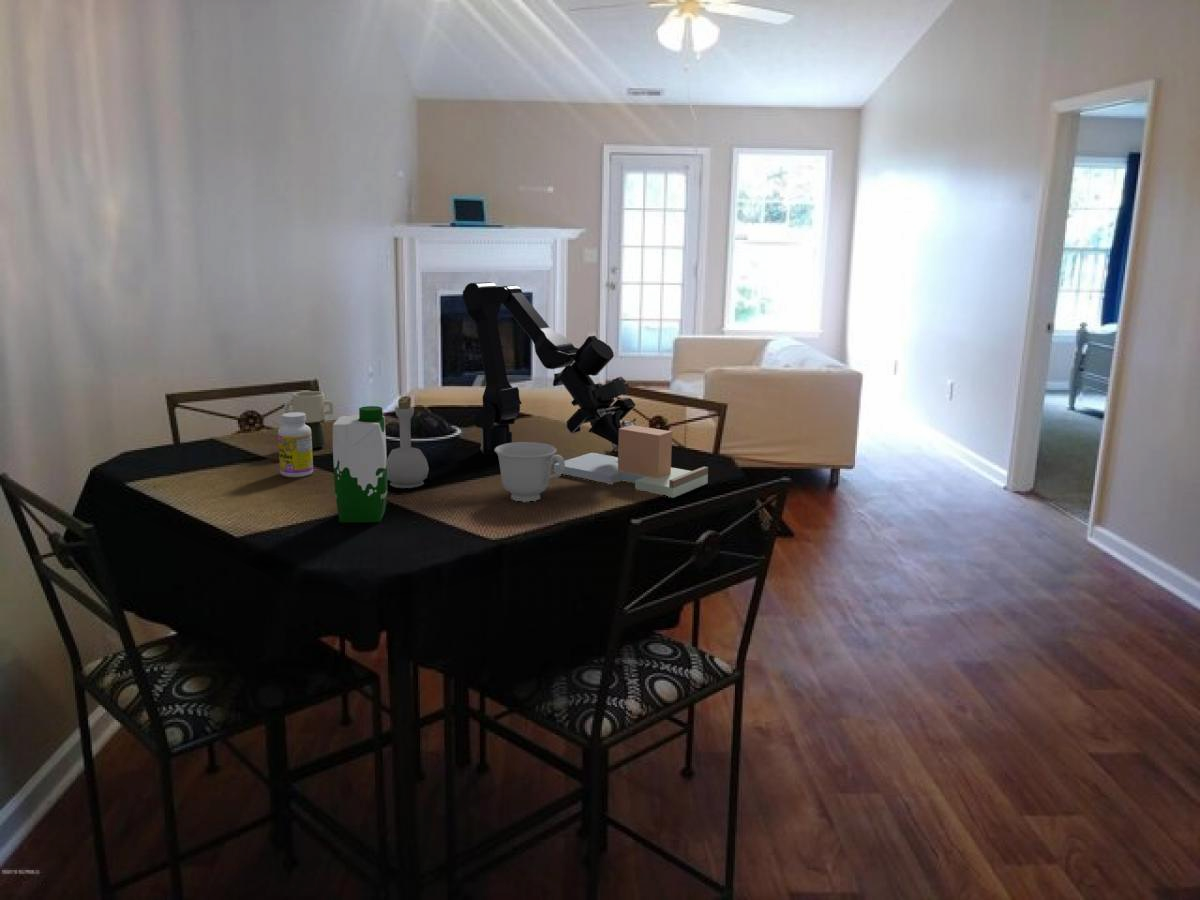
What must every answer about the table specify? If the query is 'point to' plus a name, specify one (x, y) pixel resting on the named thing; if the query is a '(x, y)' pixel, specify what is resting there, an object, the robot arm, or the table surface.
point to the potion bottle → (406, 453)
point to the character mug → (311, 412)
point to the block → (644, 451)
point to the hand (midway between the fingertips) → (623, 446)
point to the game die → (623, 424)
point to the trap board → (634, 475)
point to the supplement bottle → (295, 446)
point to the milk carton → (360, 465)
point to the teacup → (527, 468)
